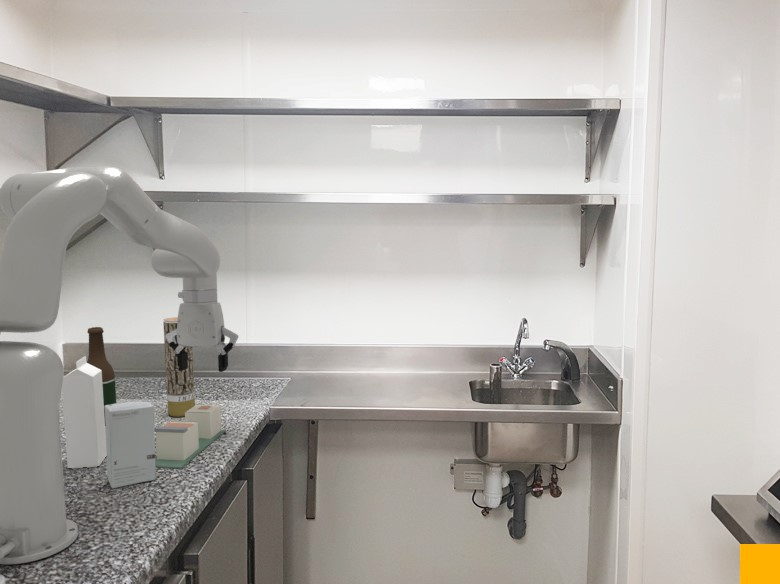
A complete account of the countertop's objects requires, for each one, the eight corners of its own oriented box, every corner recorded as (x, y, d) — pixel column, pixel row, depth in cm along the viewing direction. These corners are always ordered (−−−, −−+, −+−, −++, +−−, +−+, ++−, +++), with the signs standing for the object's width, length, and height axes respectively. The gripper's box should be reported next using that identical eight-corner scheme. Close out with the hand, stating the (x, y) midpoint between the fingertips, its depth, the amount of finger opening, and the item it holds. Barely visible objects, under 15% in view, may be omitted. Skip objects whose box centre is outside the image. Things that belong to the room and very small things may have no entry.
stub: (210, 438, 142) (209, 412, 142) (186, 437, 143) (184, 412, 142) (221, 430, 148) (220, 405, 148) (197, 429, 149) (196, 404, 148)
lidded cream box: (185, 461, 129) (184, 429, 128) (154, 459, 130) (153, 428, 129) (200, 448, 136) (199, 418, 135) (171, 447, 137) (169, 417, 136)
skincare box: (111, 489, 116) (106, 412, 114) (106, 478, 121) (102, 404, 120) (158, 479, 120) (154, 404, 119) (151, 469, 126) (148, 397, 124)
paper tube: (162, 416, 161) (157, 320, 158) (180, 408, 167) (175, 316, 164) (183, 418, 158) (179, 321, 155) (200, 411, 164) (196, 317, 162)
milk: (107, 456, 133) (101, 355, 131) (98, 467, 127) (92, 361, 125) (76, 458, 132) (70, 356, 130) (66, 469, 126) (60, 362, 124)
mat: (180, 468, 126) (180, 467, 126) (143, 466, 127) (143, 465, 127) (225, 431, 148) (225, 430, 148) (194, 430, 149) (193, 428, 149)
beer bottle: (113, 426, 153) (107, 329, 150) (79, 428, 151) (73, 331, 149) (121, 416, 160) (116, 324, 158) (89, 418, 159) (83, 325, 157)
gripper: (156, 298, 141) (160, 372, 142) (230, 299, 139) (232, 374, 140) (172, 295, 148) (175, 365, 150) (242, 295, 146) (244, 367, 148)
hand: (203, 370), depth 145 cm, fingers open, 9 cm apart
